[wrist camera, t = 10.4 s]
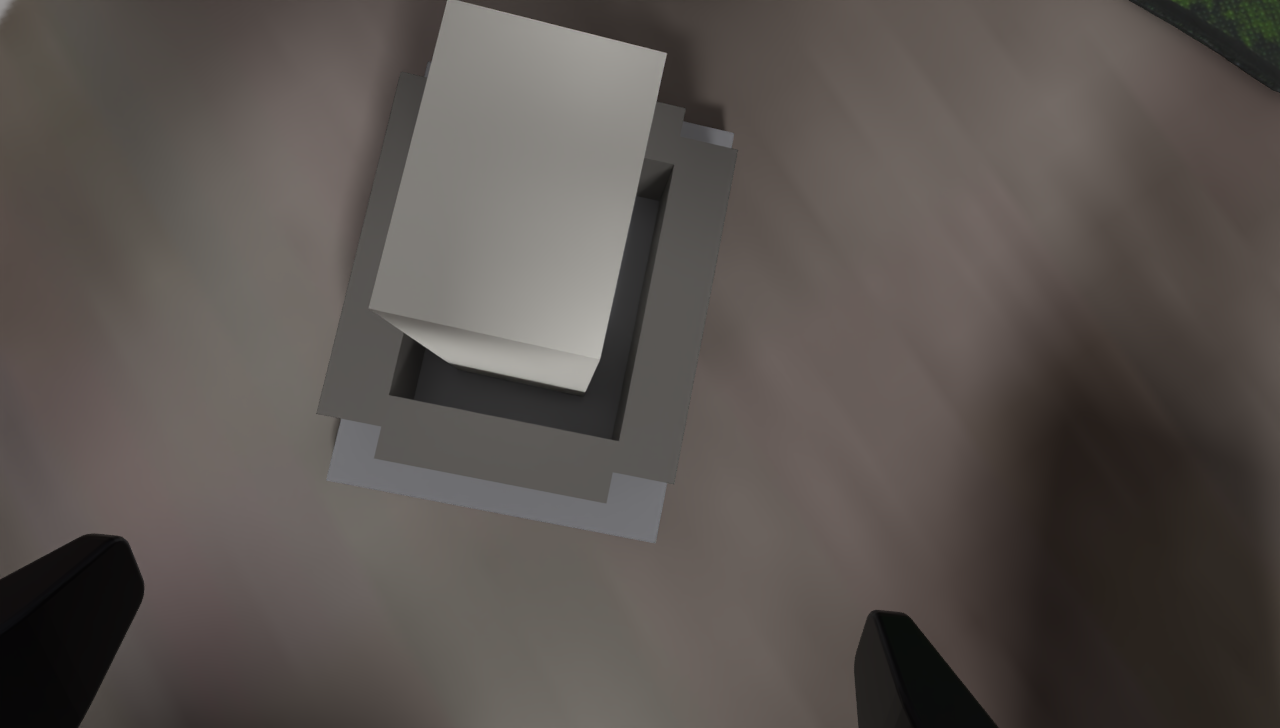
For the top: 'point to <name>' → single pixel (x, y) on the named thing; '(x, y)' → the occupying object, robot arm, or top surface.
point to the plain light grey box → (518, 196)
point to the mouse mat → (1230, 31)
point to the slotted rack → (528, 415)
